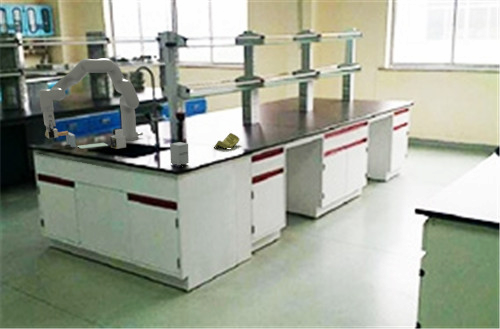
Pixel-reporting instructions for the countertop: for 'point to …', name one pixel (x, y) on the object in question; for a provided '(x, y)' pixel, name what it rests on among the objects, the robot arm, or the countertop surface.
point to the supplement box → (179, 153)
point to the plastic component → (228, 141)
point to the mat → (92, 145)
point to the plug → (56, 133)
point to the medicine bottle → (118, 139)
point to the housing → (71, 139)
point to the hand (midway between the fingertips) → (50, 136)
